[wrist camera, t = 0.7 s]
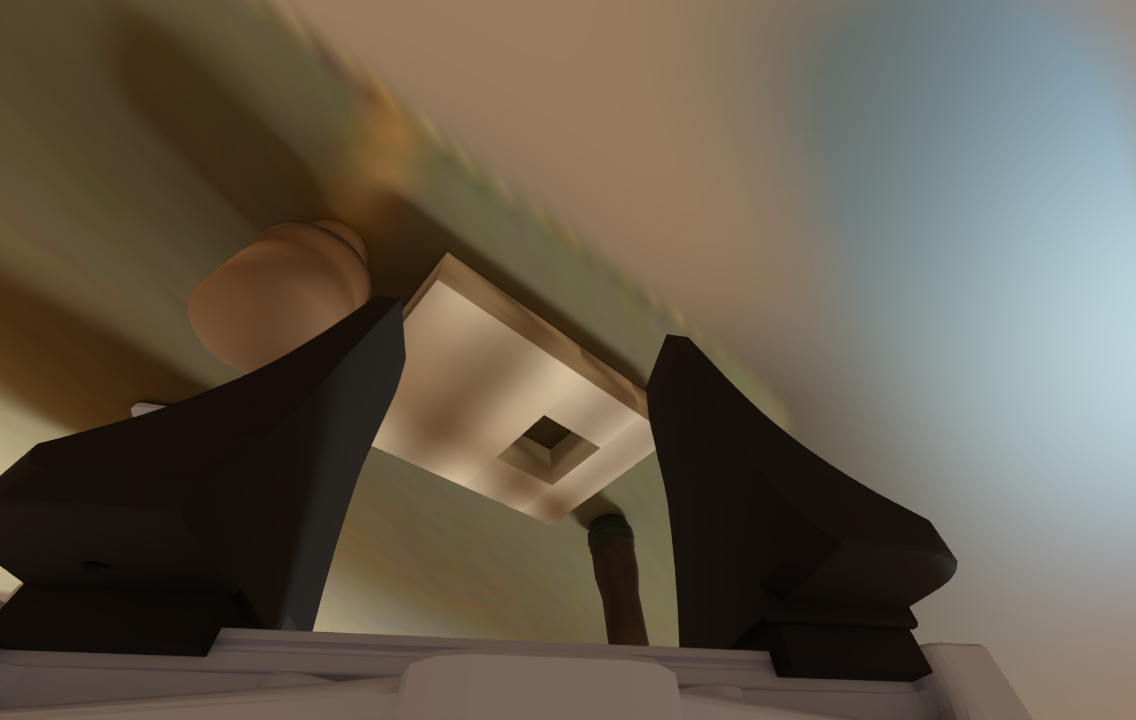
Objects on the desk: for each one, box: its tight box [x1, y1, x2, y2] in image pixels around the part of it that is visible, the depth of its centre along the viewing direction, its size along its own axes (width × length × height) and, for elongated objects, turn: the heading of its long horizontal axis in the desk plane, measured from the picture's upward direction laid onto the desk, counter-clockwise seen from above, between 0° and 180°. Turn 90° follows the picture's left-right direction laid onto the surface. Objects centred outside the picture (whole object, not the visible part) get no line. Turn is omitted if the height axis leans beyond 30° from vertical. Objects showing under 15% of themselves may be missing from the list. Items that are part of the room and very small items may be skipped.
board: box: [372, 252, 656, 525], centre depth 26 cm, size 16×11×3 cm
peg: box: [188, 220, 371, 374], centre depth 18 cm, size 5×5×7 cm
